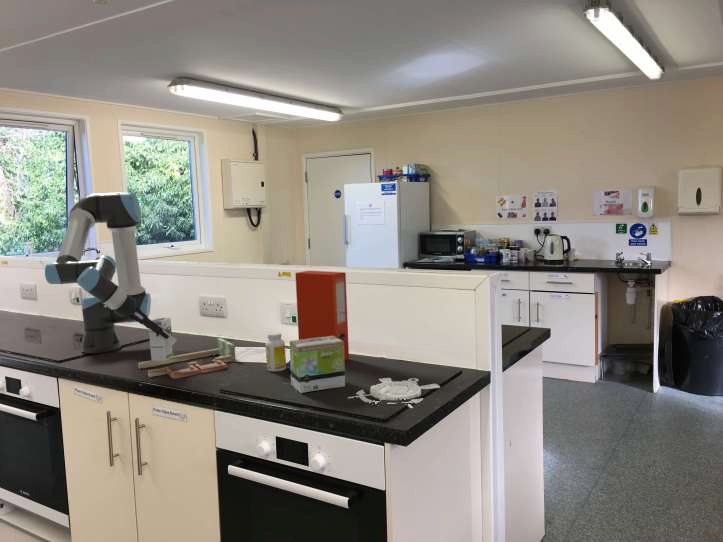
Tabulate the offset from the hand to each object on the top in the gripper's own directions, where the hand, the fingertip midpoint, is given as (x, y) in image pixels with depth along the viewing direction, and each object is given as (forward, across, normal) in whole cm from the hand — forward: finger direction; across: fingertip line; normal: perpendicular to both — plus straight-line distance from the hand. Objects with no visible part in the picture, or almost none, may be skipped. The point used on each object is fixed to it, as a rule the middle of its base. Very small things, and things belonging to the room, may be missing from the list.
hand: (170, 340), depth 217 cm
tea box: (+28, +54, +14) cm, 63 cm away
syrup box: (+2, 0, -7) cm, 7 cm away
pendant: (+39, +74, +25) cm, 88 cm away
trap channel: (+11, +3, -3) cm, 12 cm away
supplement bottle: (+27, +28, +13) cm, 41 cm away
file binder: (+41, +27, +27) cm, 56 cm away
